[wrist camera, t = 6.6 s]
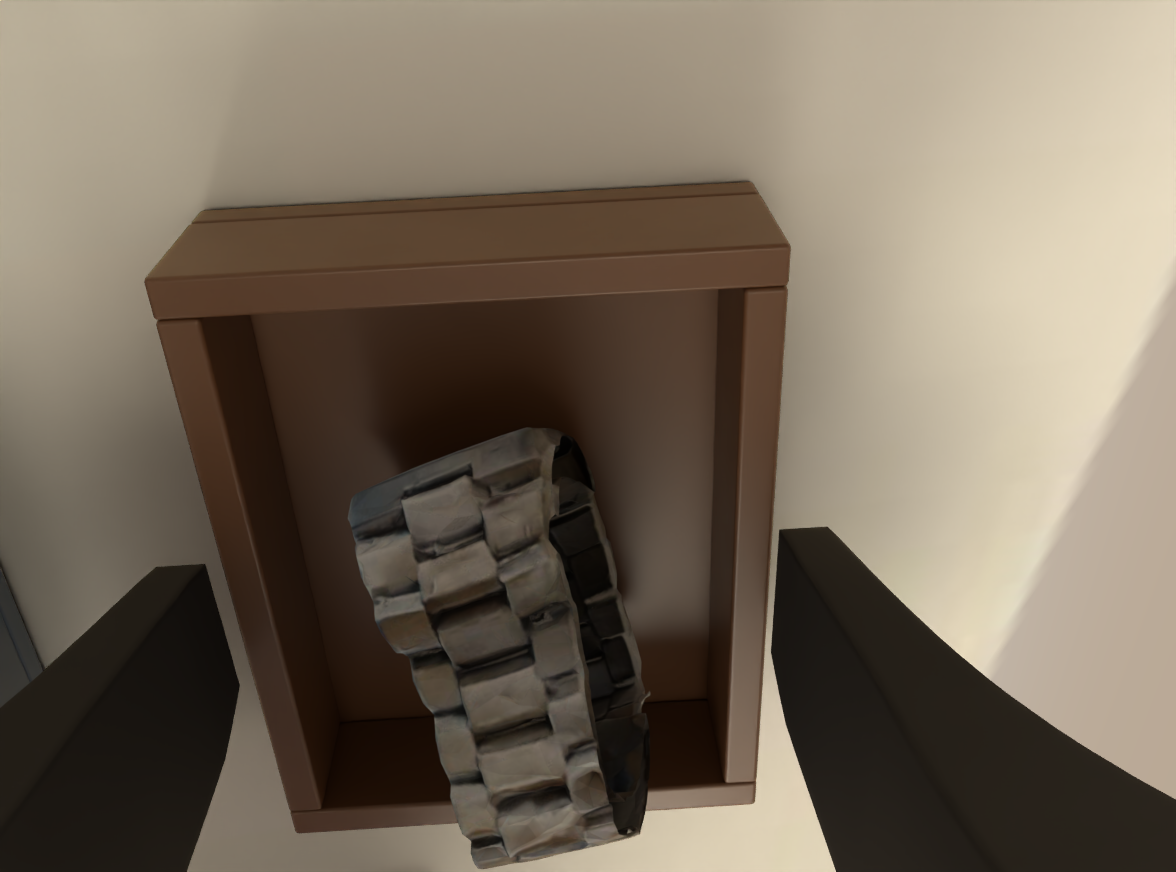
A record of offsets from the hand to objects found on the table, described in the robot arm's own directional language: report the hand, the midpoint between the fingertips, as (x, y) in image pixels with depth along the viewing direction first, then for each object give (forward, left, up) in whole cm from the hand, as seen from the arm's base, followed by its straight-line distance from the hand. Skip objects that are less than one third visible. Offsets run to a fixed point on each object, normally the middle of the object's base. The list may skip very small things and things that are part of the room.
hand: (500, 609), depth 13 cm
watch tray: (0, 0, -3) cm, 3 cm away
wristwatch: (0, 0, -2) cm, 2 cm away
